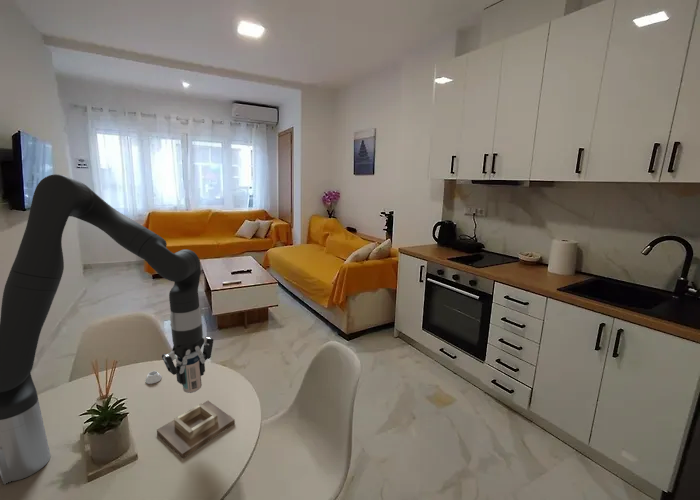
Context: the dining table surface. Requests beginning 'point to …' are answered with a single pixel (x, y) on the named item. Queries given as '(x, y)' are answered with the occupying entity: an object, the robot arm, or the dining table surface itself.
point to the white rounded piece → (153, 377)
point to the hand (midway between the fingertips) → (191, 378)
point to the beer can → (192, 373)
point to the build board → (195, 428)
